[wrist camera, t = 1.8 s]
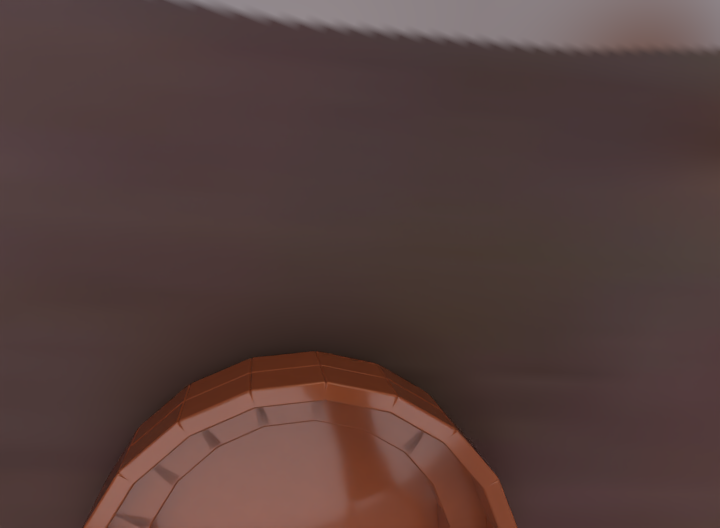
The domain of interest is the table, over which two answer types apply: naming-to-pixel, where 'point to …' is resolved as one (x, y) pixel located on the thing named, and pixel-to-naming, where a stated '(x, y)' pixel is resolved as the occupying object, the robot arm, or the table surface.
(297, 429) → the bowl
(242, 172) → the table surface
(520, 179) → the table surface
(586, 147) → the table surface
